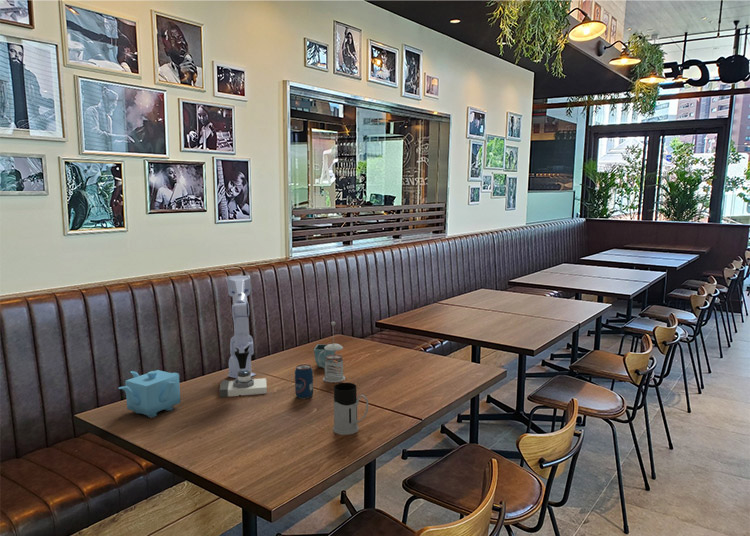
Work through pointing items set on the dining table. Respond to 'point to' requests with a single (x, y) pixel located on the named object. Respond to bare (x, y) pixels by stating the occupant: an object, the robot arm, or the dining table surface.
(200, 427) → the dining table surface
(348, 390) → the grey and black mug
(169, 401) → the teakettle
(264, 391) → the camera body
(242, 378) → the lens
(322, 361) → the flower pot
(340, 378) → the french press
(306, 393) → the soda can
